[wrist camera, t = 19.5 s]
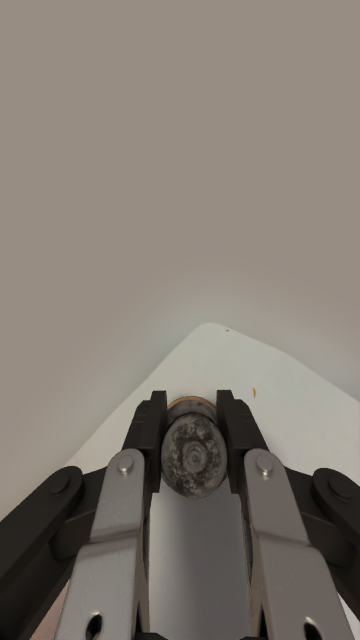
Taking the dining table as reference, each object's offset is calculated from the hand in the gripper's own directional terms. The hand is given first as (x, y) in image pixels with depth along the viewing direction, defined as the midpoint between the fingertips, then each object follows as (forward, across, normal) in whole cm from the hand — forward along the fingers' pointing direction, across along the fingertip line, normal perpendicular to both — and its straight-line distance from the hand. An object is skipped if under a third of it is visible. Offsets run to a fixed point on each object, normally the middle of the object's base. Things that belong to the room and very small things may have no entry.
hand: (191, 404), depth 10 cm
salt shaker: (+5, 0, +8) cm, 9 cm away
